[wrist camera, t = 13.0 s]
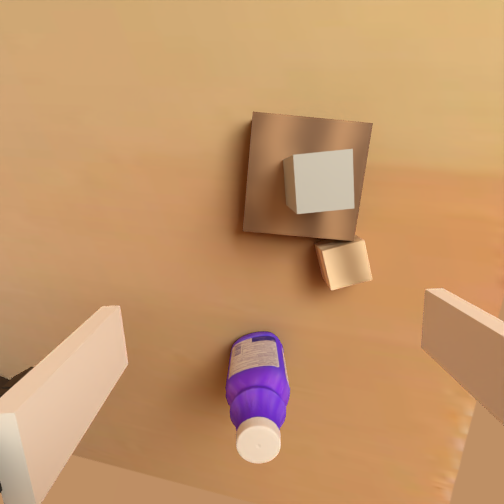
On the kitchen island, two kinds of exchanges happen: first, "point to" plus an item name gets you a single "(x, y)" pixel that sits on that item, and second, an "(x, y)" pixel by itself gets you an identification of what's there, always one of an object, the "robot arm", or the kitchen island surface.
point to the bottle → (257, 395)
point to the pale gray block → (319, 181)
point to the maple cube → (343, 262)
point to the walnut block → (272, 173)
